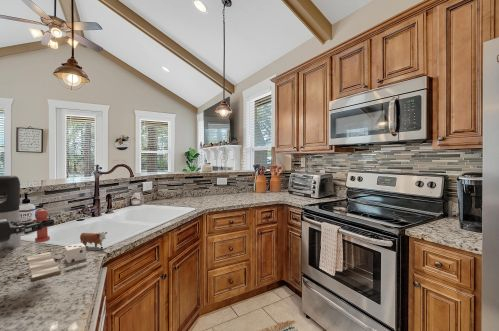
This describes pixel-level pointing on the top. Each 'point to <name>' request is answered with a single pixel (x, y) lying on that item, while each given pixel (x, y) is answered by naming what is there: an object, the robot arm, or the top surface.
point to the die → (75, 252)
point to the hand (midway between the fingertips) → (51, 221)
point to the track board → (42, 266)
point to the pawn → (43, 233)
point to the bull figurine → (92, 238)
